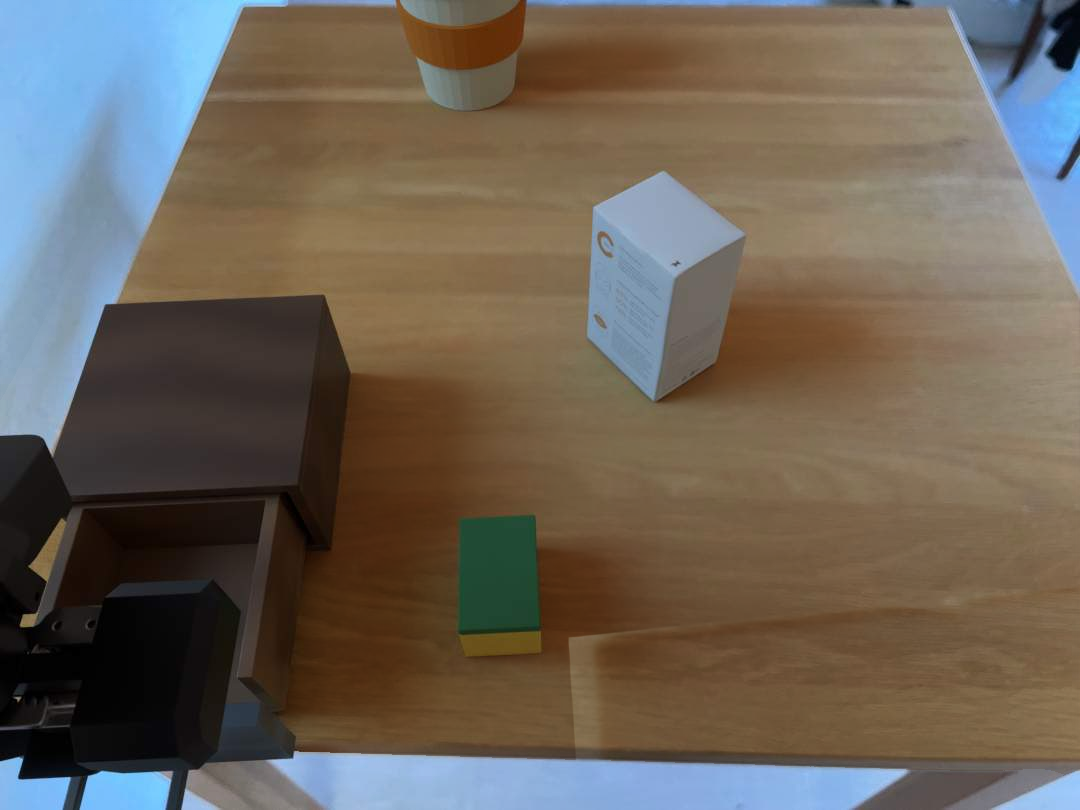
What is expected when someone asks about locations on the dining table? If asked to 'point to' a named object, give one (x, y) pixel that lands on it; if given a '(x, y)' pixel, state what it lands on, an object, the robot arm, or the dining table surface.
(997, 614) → the dining table surface
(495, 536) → the sponge
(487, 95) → the reusable coffee cup
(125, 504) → the drawer
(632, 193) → the small box
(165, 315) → the cabinet
